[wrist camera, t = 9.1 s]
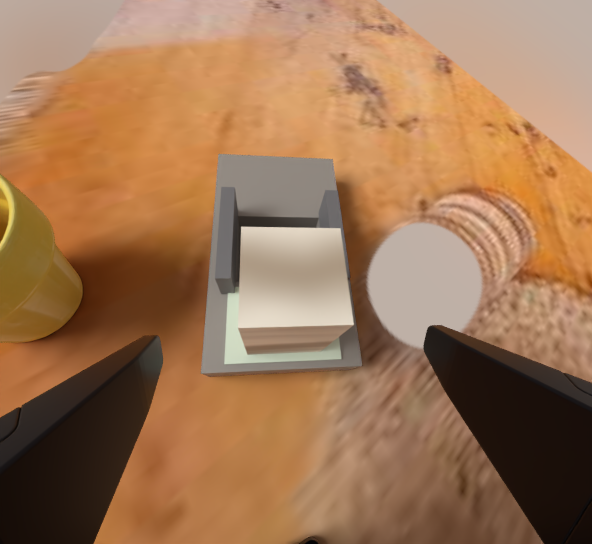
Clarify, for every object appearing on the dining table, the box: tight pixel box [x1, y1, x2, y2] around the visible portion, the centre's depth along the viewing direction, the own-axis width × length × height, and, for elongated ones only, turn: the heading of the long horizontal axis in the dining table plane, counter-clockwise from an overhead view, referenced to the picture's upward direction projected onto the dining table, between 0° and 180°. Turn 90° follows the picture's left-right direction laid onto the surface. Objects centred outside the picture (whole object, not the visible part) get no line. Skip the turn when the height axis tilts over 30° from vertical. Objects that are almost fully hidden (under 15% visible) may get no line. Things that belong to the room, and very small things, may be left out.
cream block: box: [238, 227, 354, 355], centre depth 17 cm, size 5×5×8 cm
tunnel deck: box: [201, 154, 362, 377], centre depth 23 cm, size 20×11×6 cm, turn 3°
